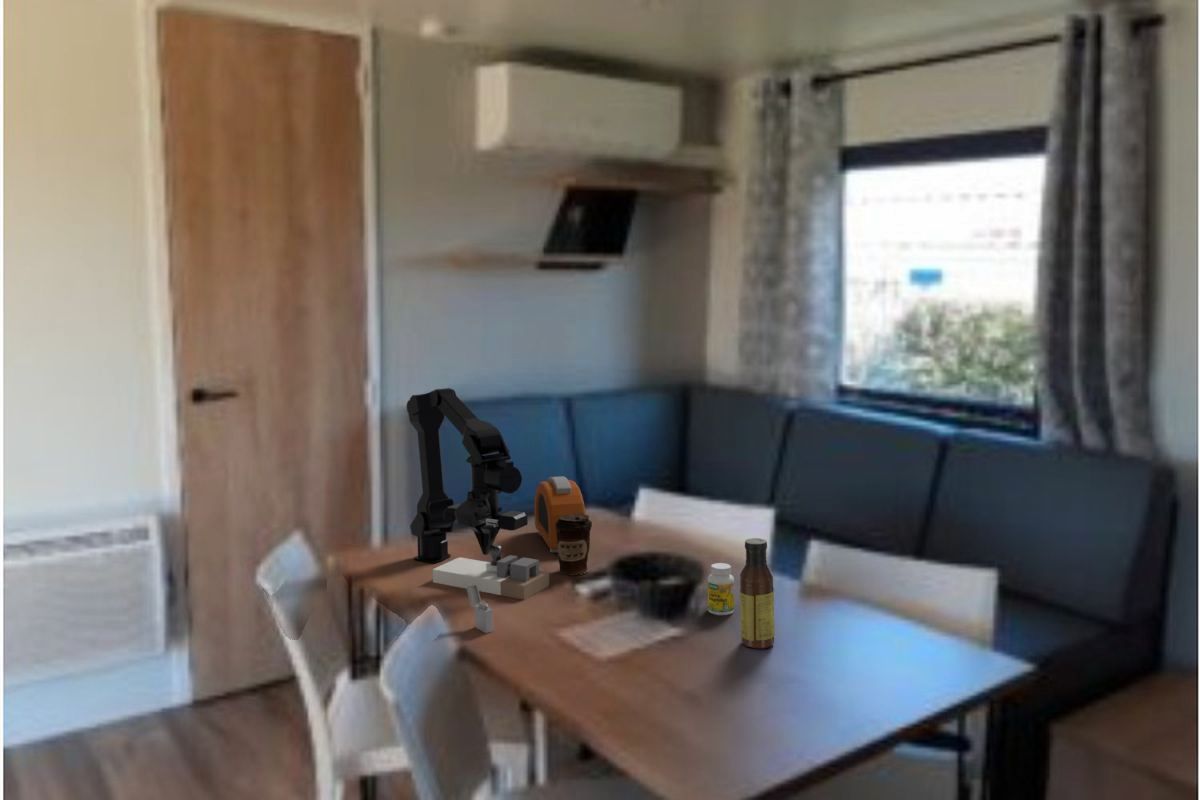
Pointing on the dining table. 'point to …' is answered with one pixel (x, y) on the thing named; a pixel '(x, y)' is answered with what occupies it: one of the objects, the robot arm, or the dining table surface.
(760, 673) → the dining table surface
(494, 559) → the bolt
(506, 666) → the dining table surface
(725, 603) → the supplement bottle
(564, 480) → the orange tape measure
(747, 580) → the sauce bottle
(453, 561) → the door lock board
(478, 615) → the lighter
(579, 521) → the coffee cup
